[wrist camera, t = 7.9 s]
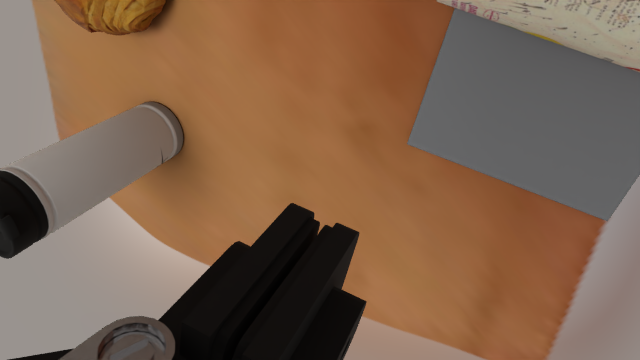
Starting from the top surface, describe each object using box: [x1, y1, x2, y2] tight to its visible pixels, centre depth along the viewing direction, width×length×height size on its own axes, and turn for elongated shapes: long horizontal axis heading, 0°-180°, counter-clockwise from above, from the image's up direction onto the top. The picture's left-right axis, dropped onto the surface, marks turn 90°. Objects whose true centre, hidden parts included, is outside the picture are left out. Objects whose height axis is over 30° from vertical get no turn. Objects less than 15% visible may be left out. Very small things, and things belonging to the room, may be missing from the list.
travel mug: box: [0, 102, 183, 258], centre depth 43 cm, size 6×7×20 cm
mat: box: [407, 8, 640, 221], centre depth 33 cm, size 20×16×1 cm
